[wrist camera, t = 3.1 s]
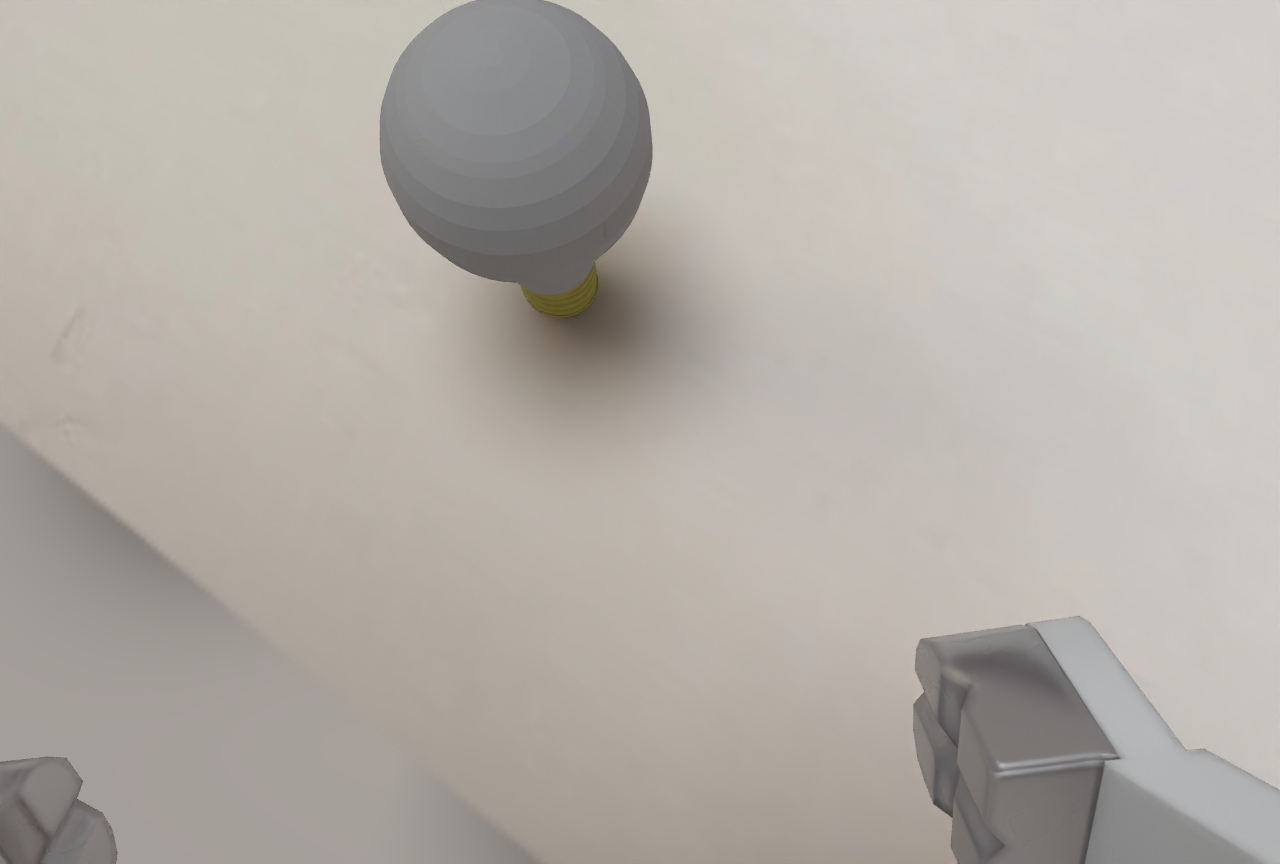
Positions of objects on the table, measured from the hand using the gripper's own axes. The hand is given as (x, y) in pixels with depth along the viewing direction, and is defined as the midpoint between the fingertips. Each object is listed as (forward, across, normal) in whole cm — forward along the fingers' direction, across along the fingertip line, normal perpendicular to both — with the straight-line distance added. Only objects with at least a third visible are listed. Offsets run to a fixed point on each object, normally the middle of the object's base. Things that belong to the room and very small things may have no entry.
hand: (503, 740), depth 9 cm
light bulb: (+18, 0, +2) cm, 18 cm away
